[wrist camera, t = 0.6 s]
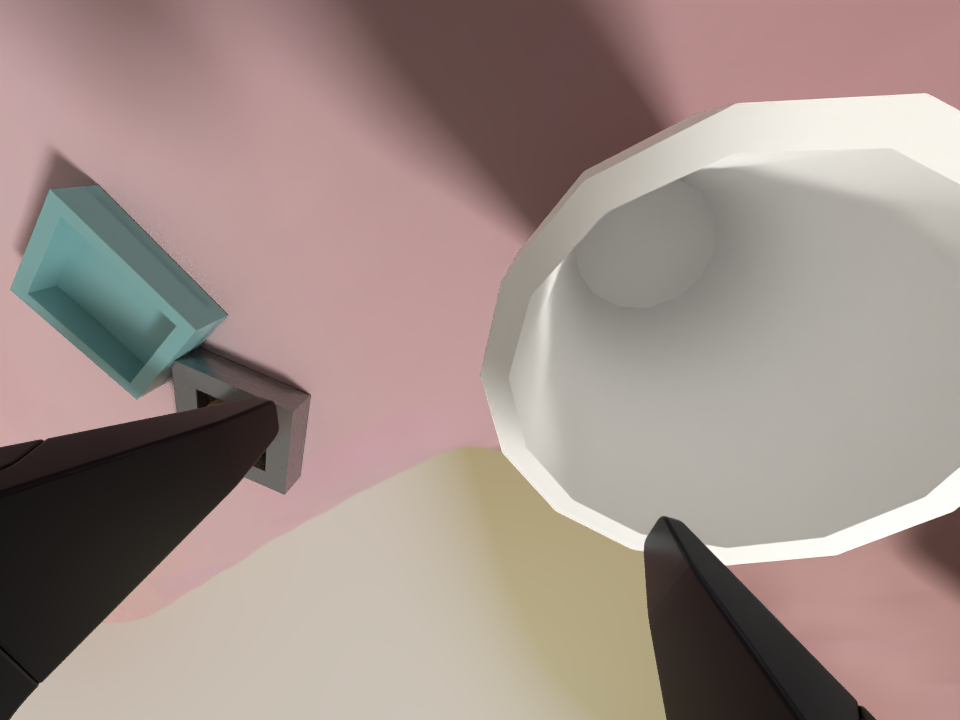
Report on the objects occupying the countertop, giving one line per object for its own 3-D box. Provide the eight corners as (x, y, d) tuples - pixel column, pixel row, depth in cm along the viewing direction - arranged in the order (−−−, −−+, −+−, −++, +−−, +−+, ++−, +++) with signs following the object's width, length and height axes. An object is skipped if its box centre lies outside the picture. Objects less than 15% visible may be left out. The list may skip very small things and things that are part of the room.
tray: (53, 278, 28) (10, 289, 26) (98, 184, 23) (49, 189, 21) (167, 381, 31) (136, 399, 28) (228, 315, 26) (196, 330, 24)
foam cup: (507, 282, 21) (421, 443, 10) (606, 85, 16) (662, -49, 5) (666, 363, 21) (762, 615, 10) (812, 193, 16) (1327, 306, 5)
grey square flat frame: (195, 345, 28) (170, 359, 26) (310, 395, 28) (292, 411, 26) (201, 433, 33) (181, 449, 31) (300, 476, 32) (284, 494, 31)
